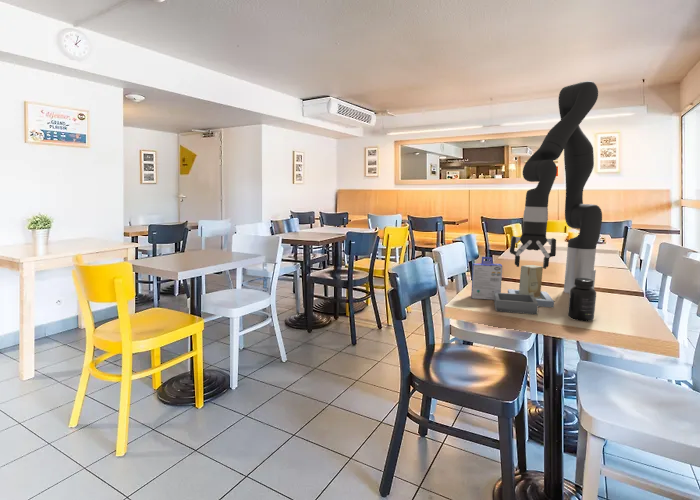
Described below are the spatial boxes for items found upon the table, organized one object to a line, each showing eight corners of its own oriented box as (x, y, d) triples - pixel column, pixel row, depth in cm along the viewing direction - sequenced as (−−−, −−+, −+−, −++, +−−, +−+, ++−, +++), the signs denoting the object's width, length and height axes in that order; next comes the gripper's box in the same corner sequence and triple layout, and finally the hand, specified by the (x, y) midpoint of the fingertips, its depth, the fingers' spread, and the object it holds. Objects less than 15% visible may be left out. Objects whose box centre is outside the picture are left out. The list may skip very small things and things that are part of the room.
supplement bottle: (562, 315, 126) (566, 276, 124) (584, 314, 127) (587, 276, 125) (577, 322, 119) (580, 281, 118) (599, 321, 120) (603, 281, 118)
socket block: (546, 297, 148) (546, 291, 148) (553, 307, 134) (554, 301, 134) (507, 294, 151) (507, 289, 151) (511, 304, 138) (511, 298, 138)
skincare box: (528, 303, 140) (530, 267, 138) (517, 300, 143) (520, 265, 142) (540, 301, 142) (543, 266, 141) (530, 298, 146) (532, 264, 145)
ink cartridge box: (498, 296, 148) (501, 257, 146) (501, 300, 142) (503, 259, 140) (470, 295, 150) (472, 255, 148) (471, 298, 144) (473, 258, 142)
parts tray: (531, 305, 137) (532, 295, 136) (537, 314, 126) (538, 303, 126) (493, 302, 140) (494, 292, 140) (495, 311, 130) (496, 300, 129)
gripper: (555, 220, 141) (551, 267, 143) (511, 218, 145) (507, 264, 147) (560, 221, 134) (555, 271, 136) (513, 220, 138) (509, 267, 140)
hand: (530, 267), depth 141 cm, fingers open, 8 cm apart
